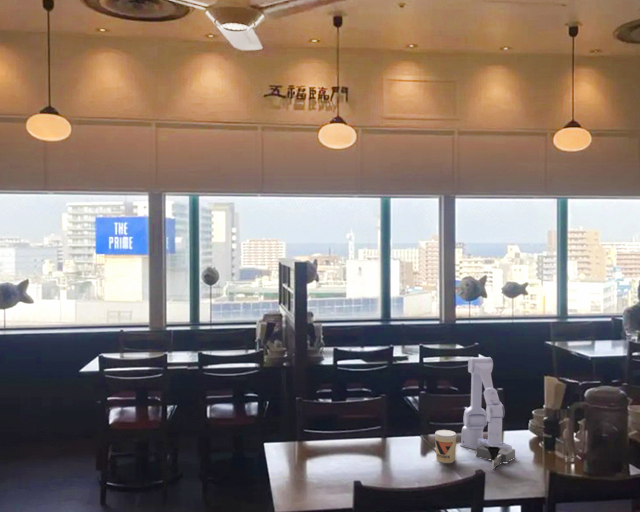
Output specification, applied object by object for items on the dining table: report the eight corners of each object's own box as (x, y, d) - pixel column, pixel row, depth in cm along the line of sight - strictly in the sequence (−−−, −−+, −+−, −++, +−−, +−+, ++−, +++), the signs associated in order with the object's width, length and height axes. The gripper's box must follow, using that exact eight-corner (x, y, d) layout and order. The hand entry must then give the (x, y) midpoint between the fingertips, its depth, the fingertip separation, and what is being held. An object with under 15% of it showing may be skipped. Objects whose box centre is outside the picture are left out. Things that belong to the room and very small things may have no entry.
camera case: (476, 456, 281) (476, 446, 281) (485, 451, 288) (485, 441, 288) (505, 463, 272) (506, 453, 272) (515, 458, 279) (515, 448, 279)
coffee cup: (431, 461, 275) (432, 434, 274) (438, 455, 283) (438, 428, 283) (452, 465, 270) (453, 437, 270) (458, 458, 279) (459, 431, 278)
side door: (494, 469, 265) (495, 460, 265) (491, 468, 266) (491, 459, 266) (503, 463, 272) (503, 454, 272) (500, 462, 273) (500, 453, 273)
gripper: (474, 431, 270) (474, 462, 271) (507, 438, 261) (506, 470, 261) (482, 426, 275) (481, 457, 276) (514, 434, 266) (513, 465, 267)
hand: (494, 463), depth 269 cm, fingers closed, pressing on side door
